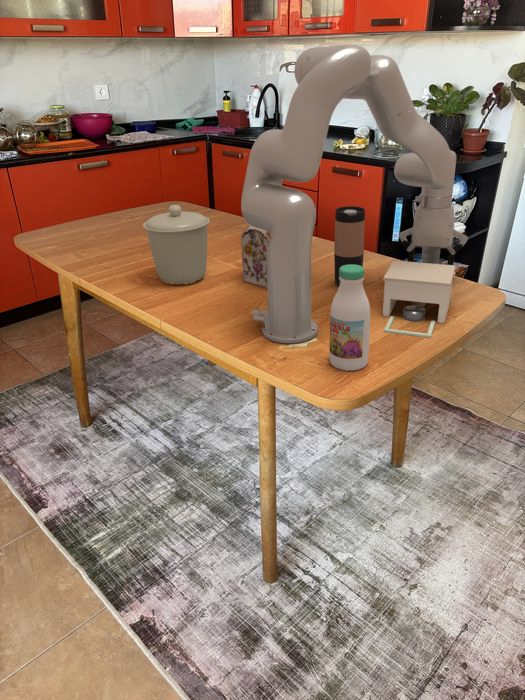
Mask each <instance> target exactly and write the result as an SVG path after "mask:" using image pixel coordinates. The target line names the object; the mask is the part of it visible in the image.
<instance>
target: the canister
mask: <svg viewBox="0 0 525 700" xmlns="http://www.w3.org/2000/svg"><path fill="white" fill-rule="evenodd" d="M210 222H211V221H210V218H209V217H207V216H205V215H204V214H201V213H199V212H195V211H188V210H187V211H182V207H181V206H180V205H178V204H172V205H170V206H169V207H168V212H165V213H163V212H162V213H160V214H156V215H154V216H151V217H150V218H148V219H147V221H145V222H144V223H143V224H142V227H143V230H145V231H146V235H147V238H148V239H147V240H148V243H149V246H150V251H151V256H152V259H153V262H154V266H155V269H156V273H157V276H158V278H159V279H160V280H161V281H162V282H163V281H164V283H165V282H167V283H166V284H168V283H173V284H184V285H186V284H185V283H190V284H192V283H191V282H194V281H197V280H199V281H201V280H202V279H204V278H203V277H204V276H205V274H206V273H207V264H208V263H207V259H208V225H209V224H210ZM201 278H202V279H201ZM197 282H198V281H197ZM194 283H195V282H194Z"/></svg>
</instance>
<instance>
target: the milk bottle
mask: <svg viewBox="0 0 525 700" xmlns="http://www.w3.org/2000/svg"><path fill="white" fill-rule="evenodd" d="M339 276H340V277H339V279H340V286H339V287H338V289H337V291H336V293H335V295H334V297H333V299H332V303H331V305H330V316H329V353H328V354H329V356H328V357H329V362H330V364H331V366H333V367H334V368H335V369H337V370H341V371H347V372H348V371H350V372H352V371H353V372H354V371H360V370H361V369H363V368H365V367H366V366H367V365H368V363H369V353H370V336H371V335H370V334H371V333H370V332H371V330H370V329H371V306H370V301H369V299H368V297H367V294H366V291H365V289H364V284H363V281H364V279H365V268H364V266H363V267H362V266H360V265H354V264H350V265H344V266H341V267H340V269H339Z"/></svg>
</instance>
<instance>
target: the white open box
mask: <svg viewBox="0 0 525 700" xmlns="http://www.w3.org/2000/svg"><path fill="white" fill-rule="evenodd" d="M455 271H456V265H454V264H453V265H447V264H444V263H443V264H441V263H439V264H430V263H421V262H416V261H414V262H408V261H407V260H406V261H403V260H393V261H392V262H391V264H390V266H389V267H388V269H387V270H386V273H385V274H384V276H383V277H382V278H383V281H384V289H383V301H382V302H383V303H382V304H383V305H382V317H389V318H390V317H391V316H390V315H391V313H392V311H393V310H394V307H395V305H396V303H397V301H408V302H412V301H415V302H425V304H437V305H438V306H439V307H438V315H437V323H439V324H440V323H441V324H445V323H446V322H445V321H446V319H447V315H448V311H449V307H450V303H451V296H452V295H451V294H452V286H453V277H454V275H455Z"/></svg>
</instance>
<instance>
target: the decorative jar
mask: <svg viewBox="0 0 525 700" xmlns="http://www.w3.org/2000/svg"><path fill="white" fill-rule="evenodd" d="M240 237H241V239H240V242H241V245H240V247H241V265H242V267H241V268H242V277H243V281H244V282H245V283H248V282H249V284H251V283H252V285H256V286H258V287H261V286H262V288H265V289H267V267H266V253H267V249H268V246H269V243H270V241H271V238H272V233H271V232H268V231H265V230H262V229H259V228H256V227H254V226H252V225H250V224H249V223H248V225H247V227H246V228H245V229H244V230H243V232H242V233H241V235H240Z"/></svg>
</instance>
